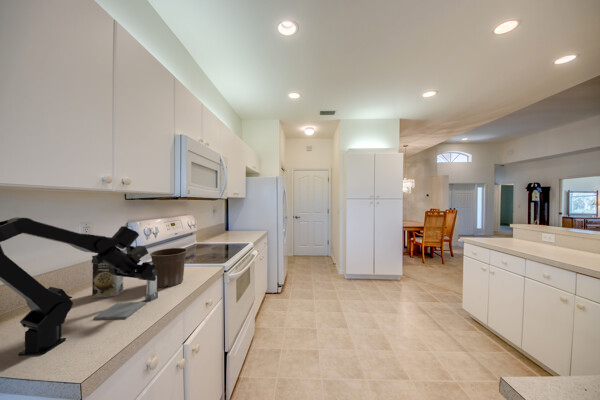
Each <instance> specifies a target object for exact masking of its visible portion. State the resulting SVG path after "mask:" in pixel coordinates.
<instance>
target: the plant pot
mask: <svg viewBox="0 0 600 400" xmlns="http://www.w3.org/2000/svg"><path fill="white" fill-rule="evenodd" d="M187 253H188V249H187V248H182V247H171V248H168V247H167V248H163V249H157V250H154V251H151V252H150V253H149V256H151V257H150V258H151V262H153V263H154V264H155V265H156V267H155V268H154V269H153V270H157V288H167V287H168V288H170V287H174V286H178V285H179V284H182V283H183V281H184V275H185V274H184V273H185V262H186V261H185V260H186V258H187Z"/></svg>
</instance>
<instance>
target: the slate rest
mask: <svg viewBox="0 0 600 400" xmlns="http://www.w3.org/2000/svg"><path fill="white" fill-rule="evenodd" d="M146 305H147V301H133V302H130V301H129V302H127V301H126V302H116V303H115V304H113V305H112V306H109V307H108V308H106V309H105V310H103V311H102V312H100V313H98V314H97V315H95V316H94V317H93V321H95V320H121V319H122V320H123V319H128V318H130V317H131V316H132V315H134V313H136V312H137V311H139V310H140V309H141V308H143V307H144V306H146Z"/></svg>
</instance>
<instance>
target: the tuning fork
mask: <svg viewBox="0 0 600 400" xmlns="http://www.w3.org/2000/svg"><path fill="white" fill-rule="evenodd" d="M153 274H154V275H155V277H156V280H155V281H150V280H146V293H145V294H144V300H145V301H146V302H147V301H148V302H153V301H154V300H157V299H159V292H158V290H157V289H158V287H157V270H154V269H153Z"/></svg>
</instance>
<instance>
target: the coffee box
mask: <svg viewBox="0 0 600 400" xmlns="http://www.w3.org/2000/svg"><path fill="white" fill-rule="evenodd" d="M109 266H110V265H108V264H107V263H105V262H104V261H102V262H101V263H100V264H94V263H92V278H91V279H92V283H91V284H92V286H91V287H92V289H91V291H92V292H91V293H92V295H91V298H92V299H95V298H96V299H97V298H107V297H108V298H110V297H117V296H119V295H120V294H121V293H123V292H124V277H123V276H116V275H112V274H110V273H109V268H110V267H109Z"/></svg>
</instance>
